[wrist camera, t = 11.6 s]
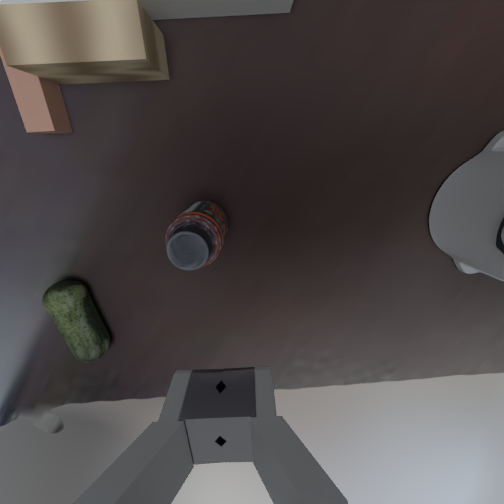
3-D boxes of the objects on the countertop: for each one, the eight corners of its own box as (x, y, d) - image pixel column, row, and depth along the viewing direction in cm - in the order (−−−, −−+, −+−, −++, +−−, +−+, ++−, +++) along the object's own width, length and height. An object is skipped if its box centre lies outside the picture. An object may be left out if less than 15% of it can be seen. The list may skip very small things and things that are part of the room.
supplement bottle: (237, 223, 34) (233, 256, 24) (206, 250, 36) (188, 292, 25) (206, 189, 33) (187, 208, 22) (174, 218, 34) (141, 249, 23)
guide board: (289, -14, 25) (296, -41, 22) (288, 121, 30) (294, 117, 26) (5, 2, 25) (-36, -23, 22) (47, 134, 30) (19, 131, 26)
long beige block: (163, 35, 27) (136, -2, 20) (169, 79, 28) (146, 59, 22) (50, 40, 27) (-14, 5, 20) (62, 84, 28) (6, 65, 22)
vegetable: (52, 277, 37) (24, 296, 33) (86, 271, 37) (62, 289, 32) (92, 350, 42) (73, 375, 38) (122, 345, 42) (106, 369, 37)
